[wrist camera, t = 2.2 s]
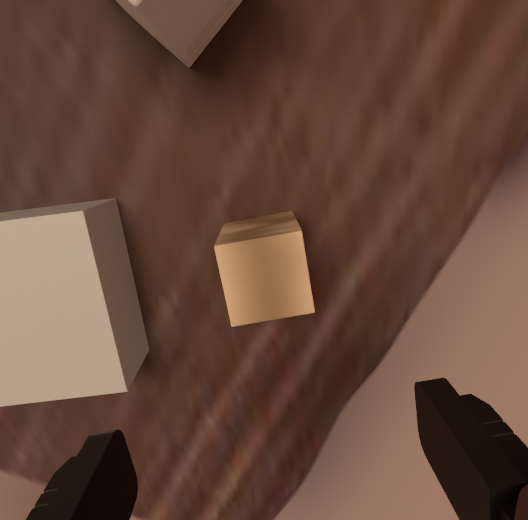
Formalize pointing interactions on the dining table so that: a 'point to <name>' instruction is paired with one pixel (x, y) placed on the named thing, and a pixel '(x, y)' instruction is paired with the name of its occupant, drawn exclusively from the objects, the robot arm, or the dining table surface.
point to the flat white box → (67, 304)
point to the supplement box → (181, 22)
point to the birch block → (264, 269)
